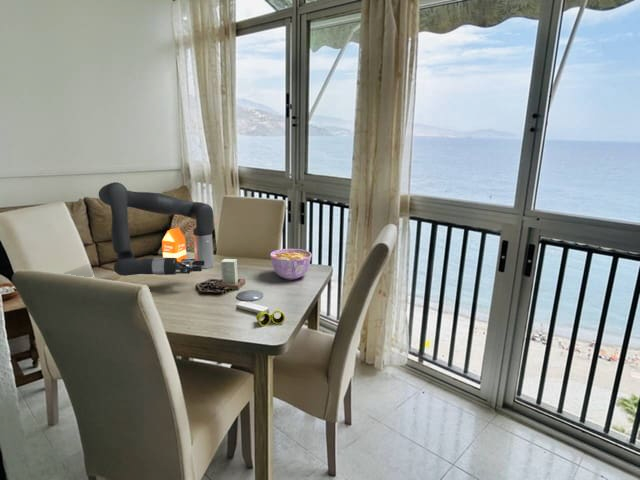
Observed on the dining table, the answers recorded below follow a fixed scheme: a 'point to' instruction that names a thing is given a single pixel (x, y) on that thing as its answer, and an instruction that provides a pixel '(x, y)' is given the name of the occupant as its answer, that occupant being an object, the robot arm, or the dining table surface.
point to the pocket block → (232, 286)
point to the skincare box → (229, 271)
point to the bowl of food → (290, 262)
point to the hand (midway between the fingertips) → (203, 265)
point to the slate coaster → (250, 295)
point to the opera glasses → (269, 317)
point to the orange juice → (174, 245)
